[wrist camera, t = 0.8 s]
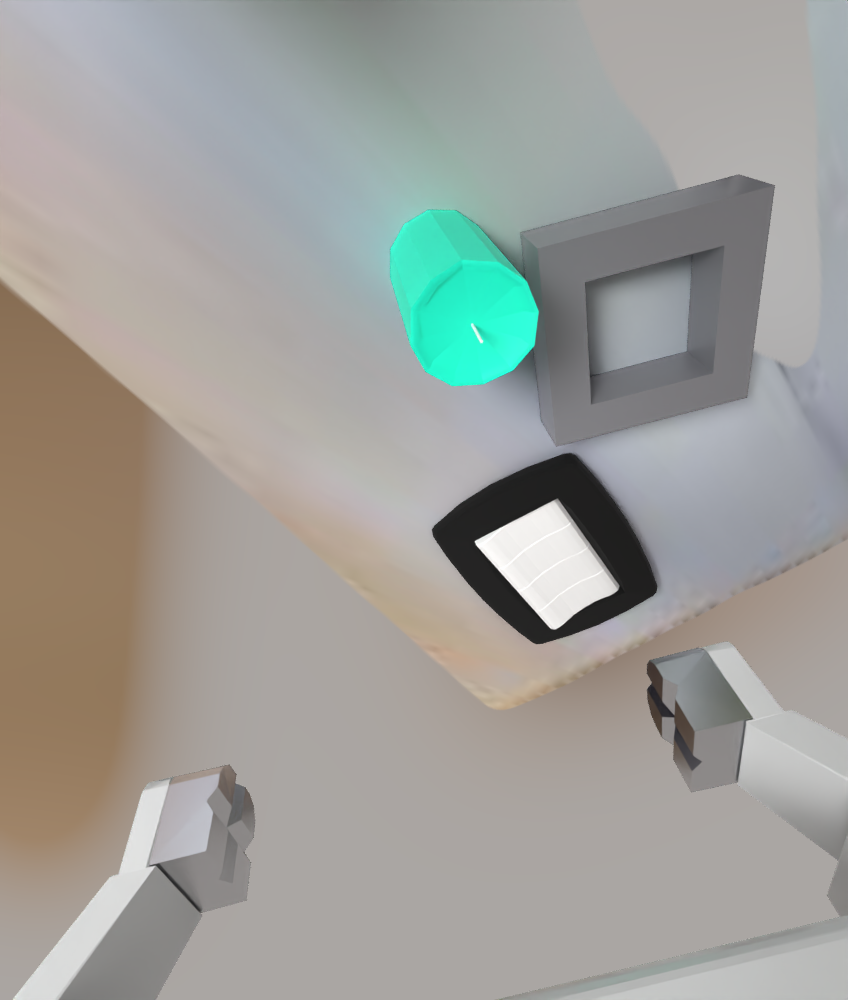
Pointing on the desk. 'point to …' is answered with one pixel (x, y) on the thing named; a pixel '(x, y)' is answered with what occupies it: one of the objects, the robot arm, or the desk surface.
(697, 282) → the socket block
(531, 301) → the candle
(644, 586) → the light switch
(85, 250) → the desk surface
